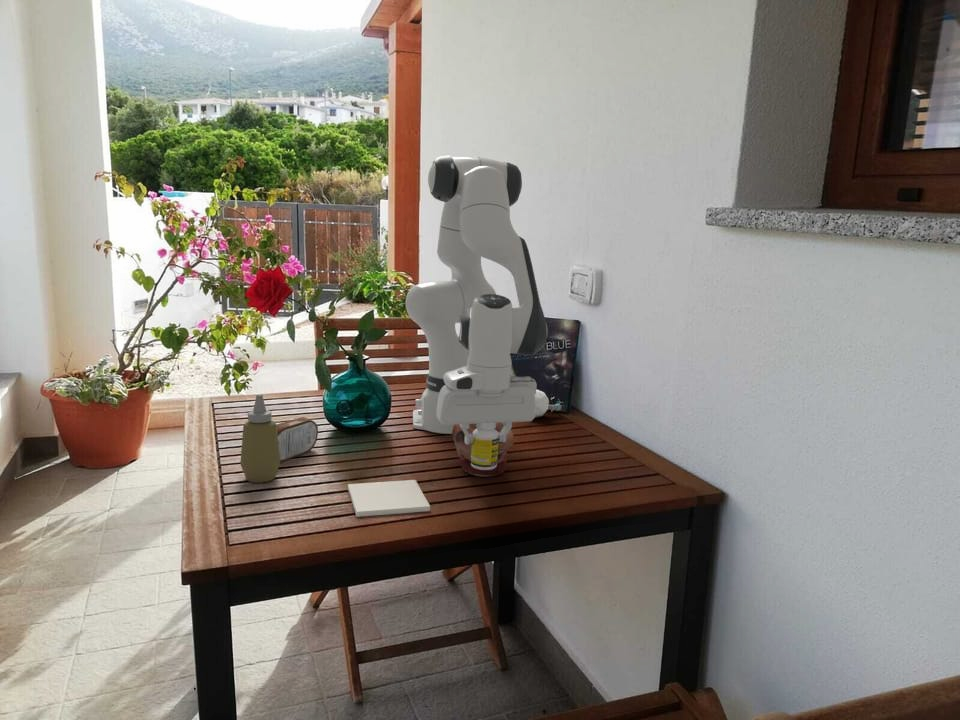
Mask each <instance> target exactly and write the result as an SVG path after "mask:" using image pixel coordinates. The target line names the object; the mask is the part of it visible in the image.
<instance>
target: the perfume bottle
mask: <svg viewBox="0 0 960 720" xmlns="http://www.w3.org/2000/svg"><path fill="white" fill-rule="evenodd" d="M549 403H550V401H549V398H548V396H547V395H546V393H545V392H544V391H542V390H540V389H536V394H535V405H536V415H535V418H539V417H542V416H544V414H546V412H547V411H548V410H551V411H550V412H553V411H560V410H561V409H562V405H561V404H560V403H555V404H549Z"/></svg>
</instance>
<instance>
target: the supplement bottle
mask: <svg viewBox="0 0 960 720" xmlns="http://www.w3.org/2000/svg"><path fill="white" fill-rule="evenodd" d="M476 427H477V429H475V430H474V431H473V433H472V435H473V436H474V440H473V441H474V444H472V450H471V466H472V467H474V468H476V469H480V470H491V469H494V468H495V467H496V466H497V457H498V439H499V434H498V432H497V431H496V430H495V428H496V423H477V424H476Z"/></svg>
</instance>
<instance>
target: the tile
mask: <svg viewBox="0 0 960 720" xmlns="http://www.w3.org/2000/svg"><path fill="white" fill-rule="evenodd" d="M347 491H348V494H349V497H350V501H351V503H352V507H353V510H354V512H355V513H354V514H355V516H356V518H357V517H358V518H359V517H360V518H361V517H371V516H383V515H385V516H386V515H396V514H410V513H421V512H424V513H425V512H430V511H431V505H430V503H429V502H428V500H427V498H426V496H425V494H424V493H423V491H422V490H421V488H420V486H419V484H418V482H417V480H416V479H409V480H408V479H407V480H391V481H377V482H363V483H361V482H360V483H348V484H347Z"/></svg>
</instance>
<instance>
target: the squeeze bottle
mask: <svg viewBox="0 0 960 720" xmlns="http://www.w3.org/2000/svg"><path fill="white" fill-rule="evenodd" d="M247 420H248V421H246V422H245V423H244V424H243V429H242V436H241V437H242V438H241V448H240V449H241V451H240V463H239V465H240V467H241V469H242V472H243V475H244V477H245V479H246V480H247V482H250V483H255V484H257V483H260V484H261V483H266V482H271V481H273V480H274V479H276V478H277V477H276V476H277V473H278V470H279V468H280V465H281V462H280V452H279V443H278V435H277V427H276V425H277V422H275V421H273V420H272V411H271V410H269V409H267V408H266V404H265V399H264V396H263V394H256V397H255V400H254V405H253V409H252V410H250V411H248V413H247Z"/></svg>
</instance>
